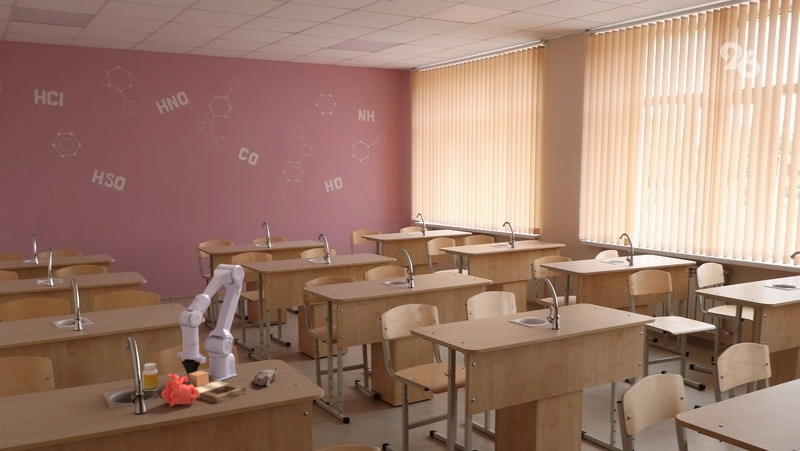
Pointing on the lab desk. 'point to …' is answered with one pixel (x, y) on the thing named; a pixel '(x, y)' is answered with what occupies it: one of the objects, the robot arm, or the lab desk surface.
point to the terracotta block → (199, 378)
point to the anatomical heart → (179, 391)
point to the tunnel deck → (217, 390)
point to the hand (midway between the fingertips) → (192, 379)
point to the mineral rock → (264, 377)
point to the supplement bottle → (150, 377)
